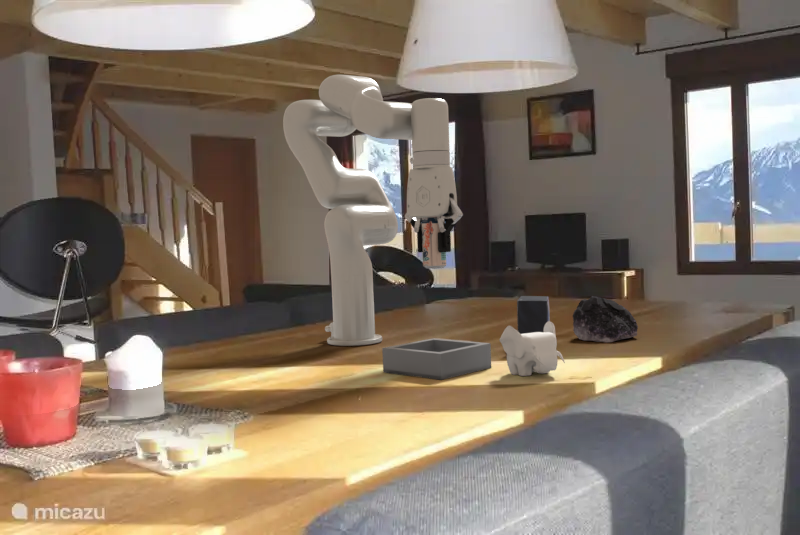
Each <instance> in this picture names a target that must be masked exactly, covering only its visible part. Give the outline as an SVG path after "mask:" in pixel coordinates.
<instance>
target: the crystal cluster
mask: <svg viewBox="0 0 800 535" xmlns="http://www.w3.org/2000/svg"><path fill="white" fill-rule="evenodd" d="M572 321H573V322H572V323H573V324H572V326H573V327H572V328H573V329H572V330H573V333H574V334H575V336H576V337H577V339H579V340H582V341H584V342H585V341H591V342H595V343H596V342H597V343H613V342H617V341H621V340H626V339H630V338H631V339H632V338H634V337H637V336H638V329H639V326H638V324H637V320H636V319H635V318H634V316H633V315H632V313H631V312H630V311H629V310H628V309H627V308H625V307H624V306H623V305H621V304H619V303H618V302H616V301H614V300H612V299H608V298H604V297H599V296H596V295H595V296H593V295H592V296H591V297H589V298H588V299H586V298H583V299H581V300H580V301H579V303H578V304H577V307H576V309H575V310H574V311H573V313H572Z"/></svg>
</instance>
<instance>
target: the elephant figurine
mask: <svg viewBox="0 0 800 535" xmlns="http://www.w3.org/2000/svg"><path fill="white" fill-rule="evenodd" d="M556 336H557V335H556V326H555V324H554V323H553V322H552V321H551V320H550V321H548V322H547V323H546V324H545V326H544V332H533V333H524V334H520V333H519V332H518V329H515V327H513V326H512V325H507V326H506V327H505V328H504V330H503V332H502V334H501V336H500V338H499V342H500V343H501V345H502V349H503V350H504V352H505V353H506V363H507V368H508V370H509V373H510V374H511V375H519V376H520V377H528V376H529V377H530V376H531V375H532V373H537V374H541V375H542V374H549V373H550V372H551V371H556V370H557V367H558V360H559V359H558V357H559V358H560V359H561V360H562V362H563V363H564V364H565V359H564V357H563V354H562V353H561V351H558V350H557V346H558V344H557V342H558V341H557V337H556Z"/></svg>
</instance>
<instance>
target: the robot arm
mask: <svg viewBox="0 0 800 535" xmlns="http://www.w3.org/2000/svg"><path fill="white" fill-rule="evenodd" d="M318 88H319V89H318V96H319V99H301V100H296V101H293V102H291V103H290V104H289V105H288V106H287V107H286V108H285V110H284V114H283V118H282V120H283V121H282V125H283V126H282V127H283V133H284V138H285V141H286V143H287V146H288V147H289V149H290V151H291V152H292V153H293V156H294V157H295V158H296V160H297V161H298V162H299V164H300V166H301V168H302V170H303V171H304V175H305V176H306V178H307V181H308V183H309V185H310V187H311V188H312V189H311V190H312V191H313V194H314V196H315V197H316V199H317V202H318V203H319V204H320V205H321V206H322V207H323V208H326V209H329V211H328V212H327V213H326V215H325V218H324V225H323V226H324V233H325V237H326V241H327V246H328V251H329V253H328V254H329V259H330V263H329V264H330V278H331V281H330V282H331V298H332V322H330V324H328V325H326V326H324V331H325V332H327V333H328V332H329V333H330V334H331V335H330V336H329V337H327V339H326V343H327V345H330V346H341V347H347V346H348V347H351V346H352V347H355V346H356V347H357V346H366V345H367V346H368V345H372V344H374V345H375V344H377V343H378V344H379V343H381V342H382V341H383V336H382V335H381V334H376V324H375V302H374V301H375V300H374V298H375V297H374V279H373V278H374V276H373V264H372V261H371V258H370V256H369V254H368V252H367V250H366V249H365V246H378V245H385V244H389V243H391V242H392V241H393V240H394V239H395V238H396V237H397V234H398V230H399V223H398V218H397V215H396V213H395V210H394V207H393V205H392V204H391V202H390V200H389V198H388V196H387V194H386V192H385V190H384V187H383V186H382V184H381V182H380V181H379V178H378V177H377V175H375V174H374V173H373V172H371V171H370V170H368V169H363V168H347V167H344V166H343V165H342V163H341V162H340V160H339V159H338V157H337V155H336V153H335V151H334V150H333V148H332V147H330V146H329V145H328V144H327V143H326V142H325V141H323V140H322V139H321V138H320V137H335V138H336V137H338V138H339V137H341V138H342V137H347V136H349V135H351V134H352V133H354V132H355V131H356V130H357V131H359V132H361V133H363V134H366V135H368V136H370V137H373V138H376V139H382V140H405V141H411V148H412V149H411V152H412V153H411V154H412V155H411V156H412V157H410V159H409V162H410V164H412V168H411V169H409V172H408V173H409V174H408V178H407V185H406V186H407V188H406V212H405V214H404V218H405V220H406V221H407V222H408V223H410V225H411V227H412V228H413V230H414V233H416V235H417V236H416V237H417V238H416V239H417V242H416V243H417V253H423V250H422V221H421V218H431V217H437V220H438V224H439V228H440V231H441V232H438V251H439V252H446V253H450V252H451V251H452V246H451V245H452V242H451V239H452V238H451V237H452V236H451V232H453V231H454V228H455V227H456V225H457V223H458V222H459V221H460V220H461V218H462V217H463V216H464V213H463V211H462V210H461V209H460V207H459V206H458V196H457V195H458V194H457V188H456V187H457V186H456V180H455V175H454V170H453V167H452V166H451V156H450V155H451V154H450V149H451V148H450V121H449V105H448V102H447V101H446V100H445V99H444V98H443V99H442V98H438V97H435V98H434V97H432V98H431V97H428V98H427V97H426V98H420V99H416V100H414V101H413V102H412V103H410V102H402V101H400V102H398V101H384V98H383V94H382V91H381V87H380V86H379V84H378V83H377V82H376V81H375V80H374V79H373V78H371V77H368V76H361V75H350V74H333V75H329V76H328V77H326V78H325V79H324V80H323V81H322V82H321V83H320V86H319V87H318ZM443 215H444V216H443ZM444 220H445V222H444Z"/></svg>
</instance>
